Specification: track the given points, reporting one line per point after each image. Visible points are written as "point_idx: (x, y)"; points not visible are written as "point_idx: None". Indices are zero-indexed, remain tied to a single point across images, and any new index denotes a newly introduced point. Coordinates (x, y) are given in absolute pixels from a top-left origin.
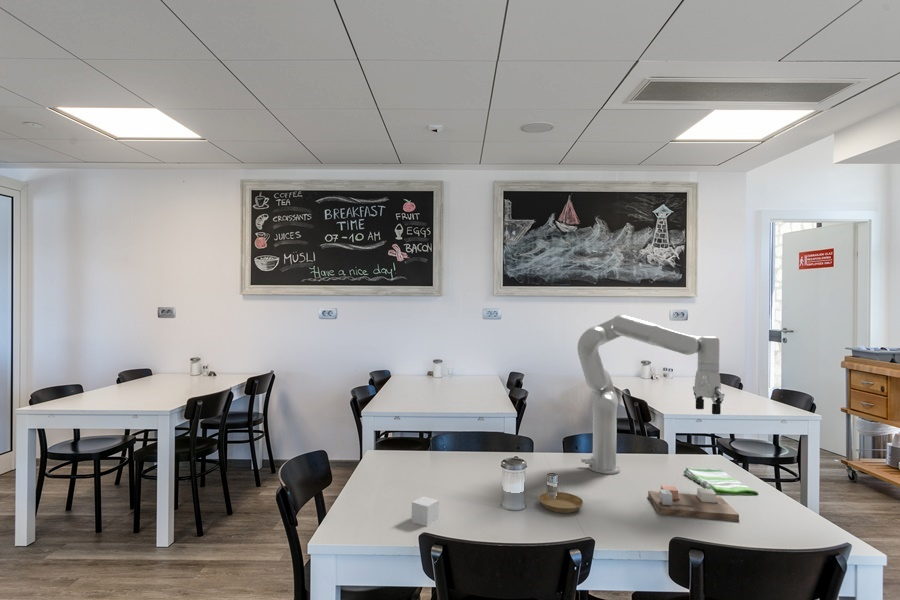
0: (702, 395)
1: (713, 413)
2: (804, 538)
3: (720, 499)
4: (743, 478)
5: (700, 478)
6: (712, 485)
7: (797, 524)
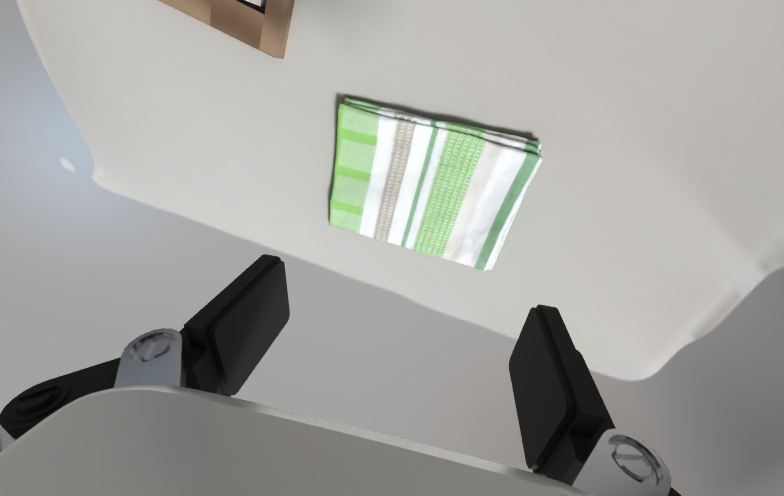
0: (305, 437)
1: (263, 261)
2: (86, 91)
3: (248, 32)
4: (444, 290)
5: (443, 135)
6: (365, 113)
7: (161, 148)
